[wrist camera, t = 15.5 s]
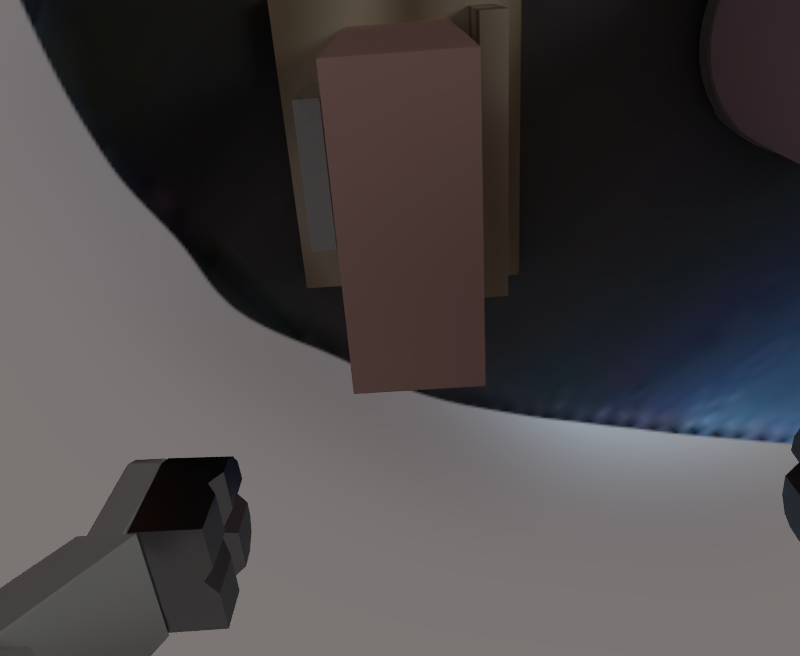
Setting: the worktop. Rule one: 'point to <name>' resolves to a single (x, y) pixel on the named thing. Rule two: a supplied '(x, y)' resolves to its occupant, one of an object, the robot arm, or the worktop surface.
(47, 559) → the robot arm
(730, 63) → the blender
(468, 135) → the boxed book
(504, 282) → the beige panel with ridge
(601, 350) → the worktop surface
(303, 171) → the grey thin rectangular slab
